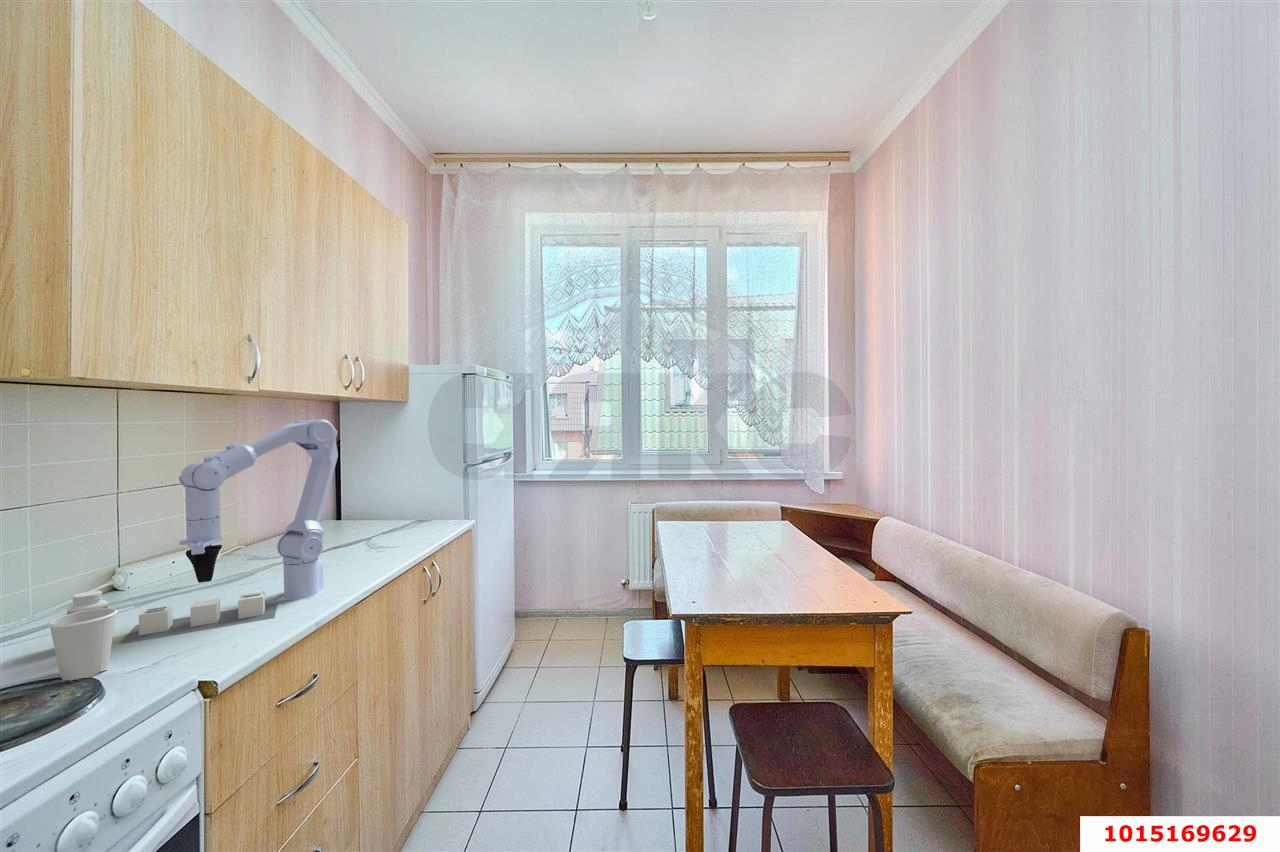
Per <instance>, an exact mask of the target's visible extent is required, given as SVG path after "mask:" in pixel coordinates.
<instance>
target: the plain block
mask: <svg viewBox="0 0 1280 852" xmlns="http://www.w3.org/2000/svg"><path fill="white" fill-rule="evenodd" d="M189 609H190V610H189V612H190V615H189V617H191V627H193V626H199V625H205V624H211V623H217V622H218V620H219V618H220V616H221V613H220V612H221V598H214V599H206V600H199V601H194V602H193V603H192V605H191V606H190V607H189Z"/></svg>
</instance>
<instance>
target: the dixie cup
mask: <svg viewBox="0 0 1280 852" xmlns="http://www.w3.org/2000/svg"><path fill="white" fill-rule="evenodd" d="M116 614H118V610H117V609H116V608H112V607H108V608H100V609H92V610H85V611H80V612H75V613H71V614H67V613H66V614H65V615H61V616H57V617H55V618H53V619H52V620H50V621H49V622H48V623H47V627H49V630H50V633H51V638H52V642H53V643H52V644H53V647H54V651H55V652H54V653H55V656H56V658H55V659H56V662H57V667H58V671H59V676H60V680H61V679H62V680H74V679H79V678H87V679H90V678H93V677H96V676H99V675H102V674H103V673H105V672H107V671H108V669H106V668H108V666H109V665H110V658H111V651H112V650H111V649H112V644H113V643H112V642H113V637H114V636H113V635H114V627H115V621H116ZM89 677H90V678H89ZM62 680H61V681H62Z"/></svg>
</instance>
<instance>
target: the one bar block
mask: <svg viewBox="0 0 1280 852" xmlns="http://www.w3.org/2000/svg"><path fill="white" fill-rule="evenodd" d="M265 594H266V593H265V591H260V592H254V593H246V594H241V595H239V598H238V599H237V600H238V601H237V605H238V608H237V609H238V613H239V619H241V618H247V617H253V616H259V615H263V614H264V611H265V605H266V595H265Z"/></svg>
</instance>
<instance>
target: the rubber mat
mask: <svg viewBox="0 0 1280 852" xmlns="http://www.w3.org/2000/svg"><path fill="white" fill-rule="evenodd" d="M278 604H279V603H278V602H273V603H267V604H266V603H265V611H264V614H263V615H259V616H253V617H247V618H241V619H239V613H238V608H235V609H229V610H223V611H220V613H221V616H220V618H219V620H218V622H217V623H211V624H205V625H199V626H193V627H191V617H190V616H183V617H179V618H173V624H172V626H171V627H170V628H169V630H168V631H162V632H156V633H150V634H144V635H139V624H136V625H135V626H134V627H133V628H132V629H131V630H130V631H129V632H128V634H126V636H124V637H123V639H122V640H121V641H120V642H119V643H118V644H117V645H123V644H129V643H136V642H141V641H148V640H153V639H159V638H165V637H171V636H176V635H182V634H183V635H184V634H189V633H195V632H200V631H206V630H212V629H213V630H214V629H218V628H223V627H230V626H236V625H241V624H248V623H254V622H260V621H264V620H272V619H275V616H276V612H277V609H278Z"/></svg>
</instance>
